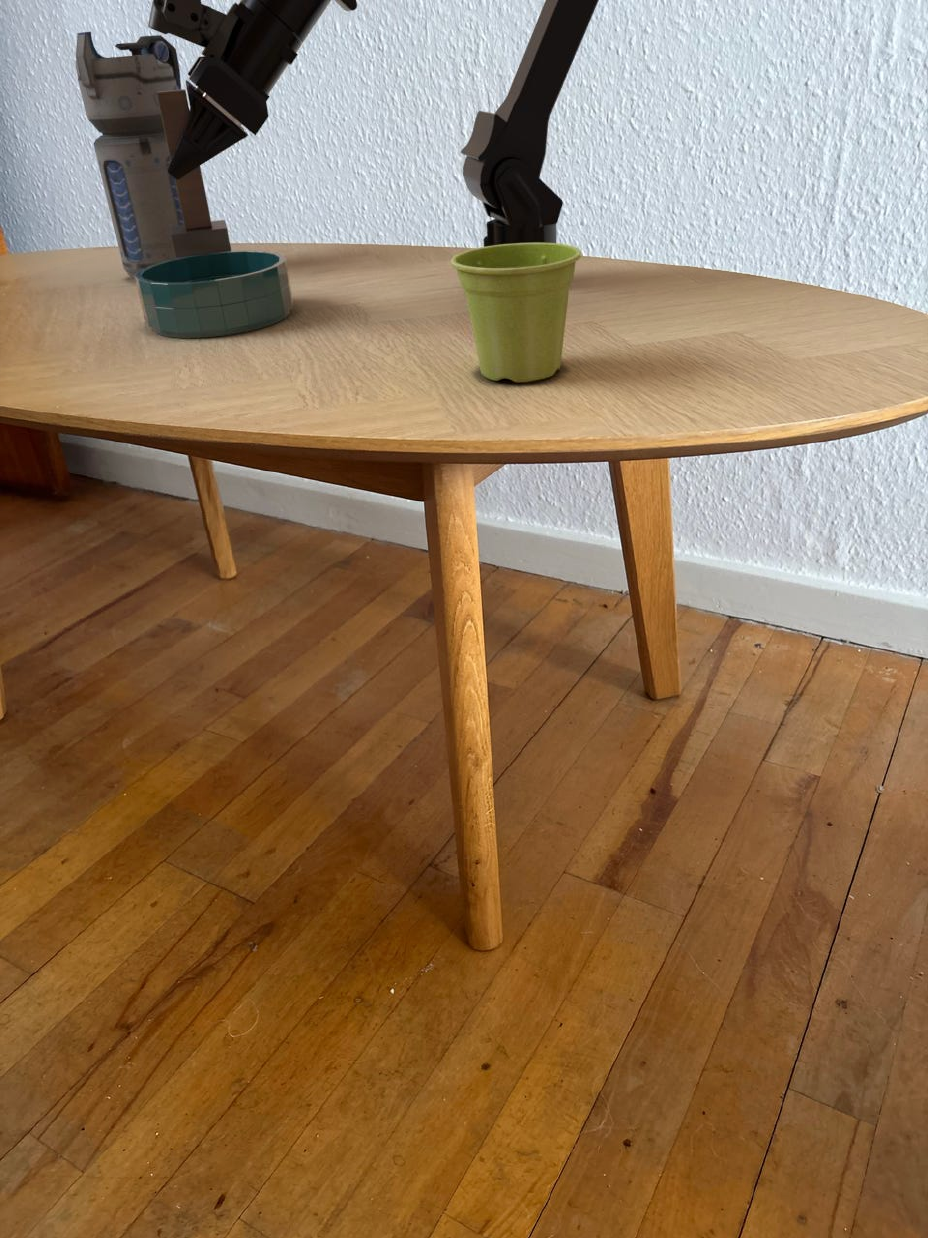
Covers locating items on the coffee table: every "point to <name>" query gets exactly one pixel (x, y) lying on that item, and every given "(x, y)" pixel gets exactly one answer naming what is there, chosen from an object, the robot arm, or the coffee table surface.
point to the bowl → (215, 293)
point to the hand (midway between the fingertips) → (172, 173)
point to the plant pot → (518, 306)
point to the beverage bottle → (133, 143)
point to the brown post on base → (190, 189)
